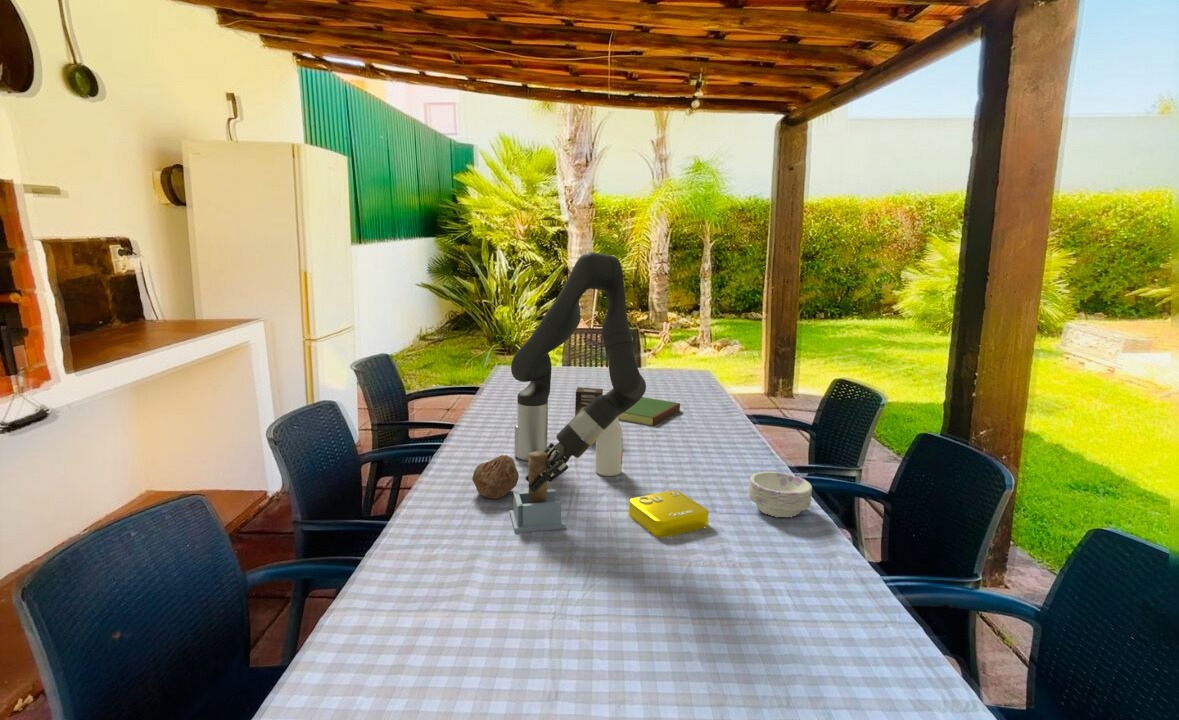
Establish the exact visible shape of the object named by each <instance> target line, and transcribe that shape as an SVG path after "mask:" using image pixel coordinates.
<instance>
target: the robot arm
mask: <svg viewBox="0 0 1179 720" xmlns="http://www.w3.org/2000/svg"><path fill="white" fill-rule="evenodd" d="M588 290H598V291H599V290H600V291H604V292H605V295H606V298H607V311H606V314H605V316H604V319H603V322H602V327H601V336H602V341H603V346H604V350H605V353H606V357H607V360H608V371H609V372H608V373H609V377H610V382H611V386H612V389H611V390H609V391H608V392H607V393H605V394H603V395H598V396H597V397H595V398H594V399H593V400H592V401H591V402H590V403H589V404H588V405H587V406H586V407H585V408H584V410H582V411H581V412H580V413H578V414H577V415H576V416H575V415H574V417H573V418H572V419H571V420H570V421H569V422H568V423H567V424H566V425H565V426H564V427H563V428H562V429H561V430H560V431H559V432H558V433H557V434H556V436H555V437H556V439H557V441H558V443H556V444H554V443H552V442H551V443H549V444H548V437H549V436H548V433H549V432H548V425H549V424H548V422H549V421H548V420H549V419H548V418H549V397H550V394H551V385H552V384H551V383H552V382H551V380H552V359H551V356H550V355H549V353H550V352H553V351H554V350H556V349H557V348H558V347H560V346H562V345H563V344H564V343H566V342H567V341H568V340H569V339H570V338H571V336H572V335H573V334H574V332H576V330H577V328H578V327H579V325H580V323H581V318H582V317H581V314H582V313H581V307H580V300H581V298H582V296H583V295H584V294H585V293H586V292H587V291H588ZM625 290H626V289H625V282H624V273H623V268H622V264H621V262H620V260H619V258H618V257H616V256H615V255H611V254H606V253H599V252H593V251H588V252H584V253H583V254H581V255H580V257H578V259H577V261H576V262H575V264H574V266H573V268H572V270H571V272H570V274H569V276H568V277H567V280H566V282H565V284H564V286H563V287H562V289H561V291H560V292H559V294H558V295H557V297H556V298H555V300H554V302H553V303H552V305H551V306H550V307H549V309H548V310H547V311H546V313H545V315H544V316H543V317H542V319H541V321H540V323H539V324H538V325H537V326H536V328H535V330H534V331H533V332H532V334H531V335H530V337H529V338H528V339H527V340H526V342H525V343H523V345H522V346H521V347H520V348H519V349H518V350H517V352H516V353H515V354H514V356H513V357H512V360H511V363H510V364H511V365H510V371H511V375H512V377H513V378H514V379H515V380H517V382H521V383H525V382H526V383H527V382H529V384H528V385H527V386H526V387H525V388H524V389H522V390H520V391H519V392H518V393H517V404H516V405H517V406H516V407H517V418H516V420H517V425H515V427H514V457H516V458H518V459H520V460H522V461H527V462H529V453H531V452H537V451H540V452H545V453H547V462H546V463H545V464H544V469H543V470H542V471H541V472H540V474H539V475H538V476H537V477H536V478H535V479H534V480H533V481H532V482H531V483H530V484H529V473H528V474H527V475H526V476H525V480H526V481H527V482H528V489H529V488H530V489H531V490H532V491H533V492H536V491H537V490H538V489H539V488H540V487H541V486H542V485H543V484H544V483H545V482H547V483H550V484H551V483H553V481H554V480H555V479H557V478H558V477H559V476H561V475H562V474H563V473H565V472H566V471H567V470H568V469H569V466H568V465H567V463H568V461H569V460H570V459H571V457H574V458H577V459H579V458H580V457H581V456H583V454H584V453H585V452H586V451H587V450H589V448H590V447H591V446H592V445H593V444H594V443H596V440H597V439H598V438H599V436H600V435H601V434H602V432H603V431H604V430H605V429H606V428H607V427H608V426H609V425H610V424H611V423H612V422H613V421H614V420H615V419H616V418H617V417H618V416H619V415H620V414H622V413H624V412H625V411H626V410H628V409H629V408H631V407H632V406H633V405H635V404H636V403H637V402H638V401H639V400H640V399H641V398H642V397H643V396H644V395H645V393H646V390H647V385H646V381H645V379H644V377H643V376H642V375H641V373H640V370H639V368H638V364H637V360H636V348H635V344H634V340H633V336H632V333H631V329H630V325H629V319H628V313H627V303H626V302H627V301H626V292H625Z"/></svg>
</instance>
